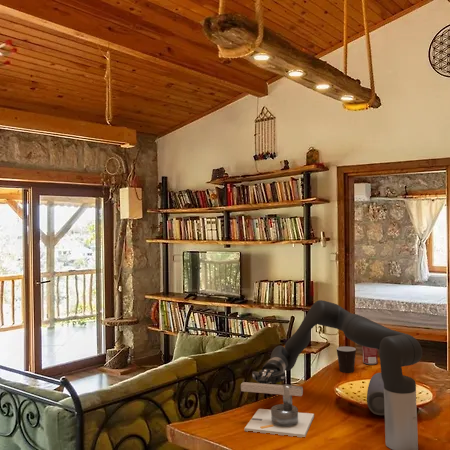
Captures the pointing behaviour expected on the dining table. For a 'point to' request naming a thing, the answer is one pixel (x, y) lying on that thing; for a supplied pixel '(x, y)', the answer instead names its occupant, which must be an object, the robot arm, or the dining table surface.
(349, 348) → the coffee mug
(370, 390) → the bluetooth speaker
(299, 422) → the board
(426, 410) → the dining table surface
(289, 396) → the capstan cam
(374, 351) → the soda can
